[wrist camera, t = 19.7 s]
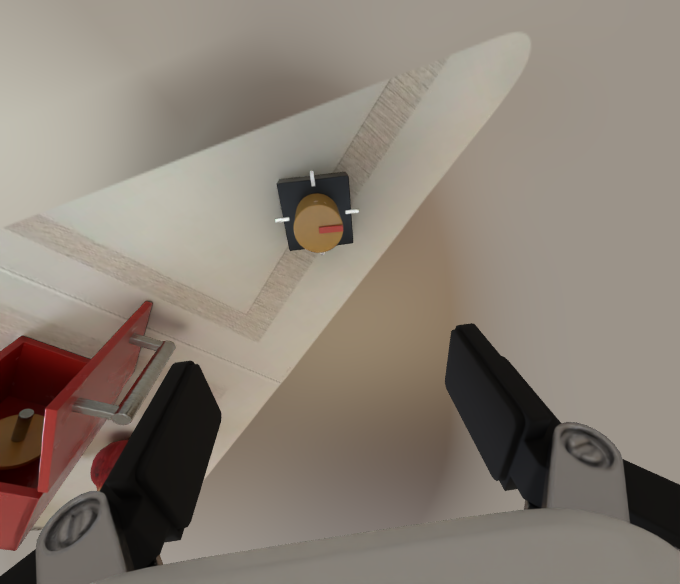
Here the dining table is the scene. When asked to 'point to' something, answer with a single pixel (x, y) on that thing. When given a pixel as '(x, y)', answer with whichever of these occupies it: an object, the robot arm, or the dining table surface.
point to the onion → (106, 462)
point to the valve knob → (317, 223)
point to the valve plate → (324, 184)
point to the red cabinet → (30, 430)
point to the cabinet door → (100, 394)
